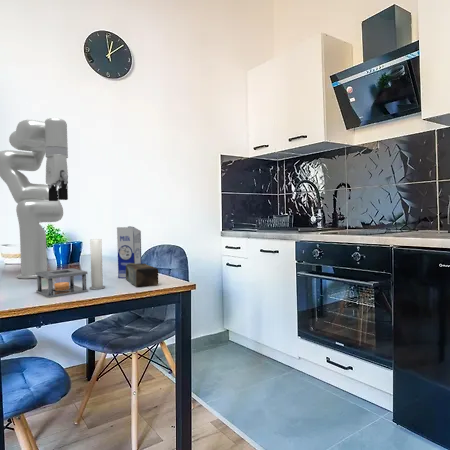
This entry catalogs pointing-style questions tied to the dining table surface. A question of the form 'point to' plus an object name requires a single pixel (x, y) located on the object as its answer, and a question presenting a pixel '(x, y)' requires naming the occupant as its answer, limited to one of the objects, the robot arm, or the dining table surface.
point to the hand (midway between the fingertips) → (58, 200)
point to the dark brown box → (141, 275)
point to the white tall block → (96, 263)
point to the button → (61, 286)
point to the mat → (96, 288)
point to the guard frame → (58, 274)
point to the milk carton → (128, 248)
